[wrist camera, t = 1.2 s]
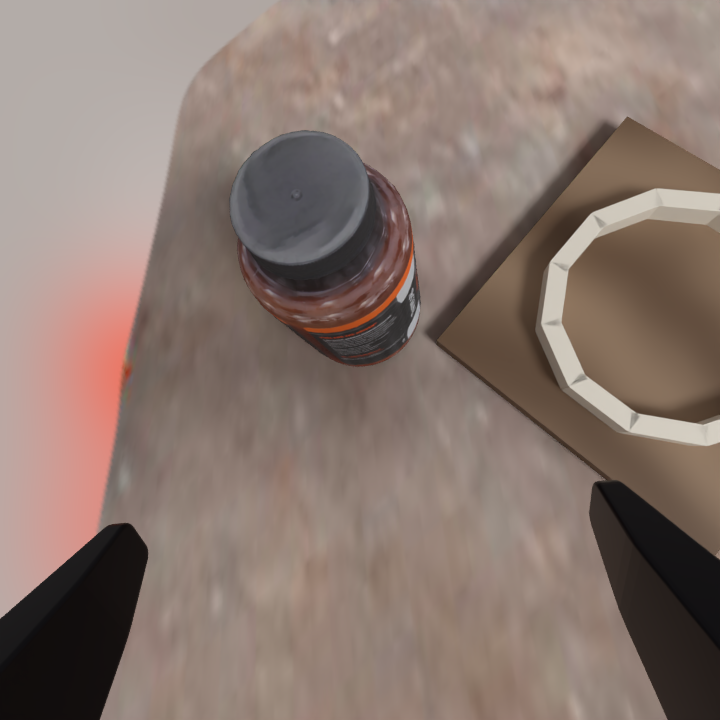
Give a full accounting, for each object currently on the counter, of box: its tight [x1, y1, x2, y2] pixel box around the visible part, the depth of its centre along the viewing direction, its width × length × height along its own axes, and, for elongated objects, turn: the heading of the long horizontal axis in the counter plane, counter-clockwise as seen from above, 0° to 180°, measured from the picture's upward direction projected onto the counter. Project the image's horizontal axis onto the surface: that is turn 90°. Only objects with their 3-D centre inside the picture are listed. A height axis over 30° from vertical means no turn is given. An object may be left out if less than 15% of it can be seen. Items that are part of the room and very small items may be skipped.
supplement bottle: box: [229, 130, 421, 366], centre depth 18 cm, size 6×6×11 cm
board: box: [437, 117, 720, 556], centre depth 20 cm, size 14×14×1 cm
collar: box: [535, 188, 720, 446], centre depth 19 cm, size 11×11×1 cm
